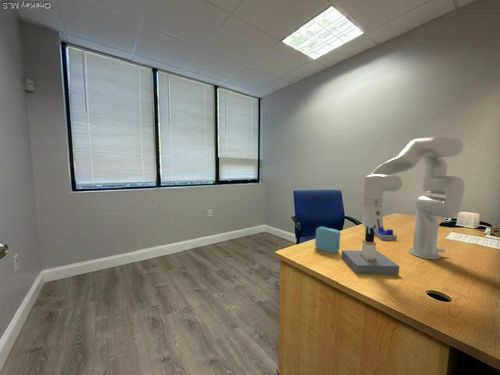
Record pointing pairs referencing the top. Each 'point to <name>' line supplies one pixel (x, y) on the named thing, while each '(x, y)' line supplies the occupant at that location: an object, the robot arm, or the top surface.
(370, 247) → the plug
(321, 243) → the data package
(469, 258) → the top surface
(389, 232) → the cable clip
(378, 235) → the desk tray
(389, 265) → the socket plate
